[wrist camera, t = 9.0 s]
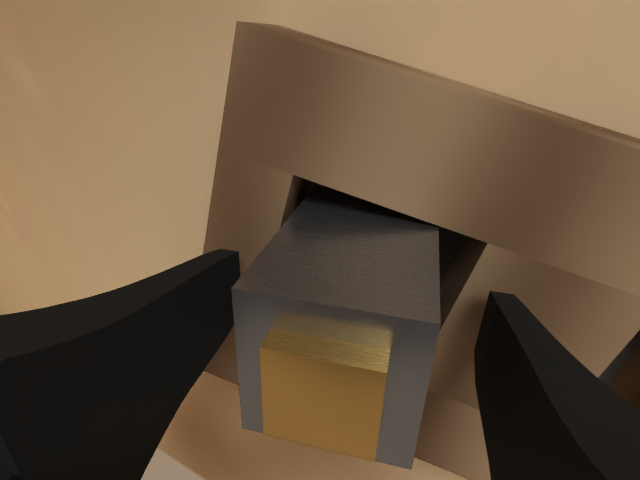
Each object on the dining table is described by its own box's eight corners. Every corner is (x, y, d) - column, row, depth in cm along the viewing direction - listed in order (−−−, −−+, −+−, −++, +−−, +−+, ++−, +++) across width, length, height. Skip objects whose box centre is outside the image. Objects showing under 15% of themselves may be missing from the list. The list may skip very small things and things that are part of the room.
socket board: (869, 211, 11) (1006, 265, 8) (602, 467, 17) (633, 546, 14) (278, 25, 12) (236, 21, 10) (222, 317, 18) (187, 364, 16)
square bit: (437, 193, 13) (440, 346, 7) (420, 296, 15) (409, 496, 8) (319, 181, 14) (216, 305, 8) (315, 279, 16) (231, 449, 9)
